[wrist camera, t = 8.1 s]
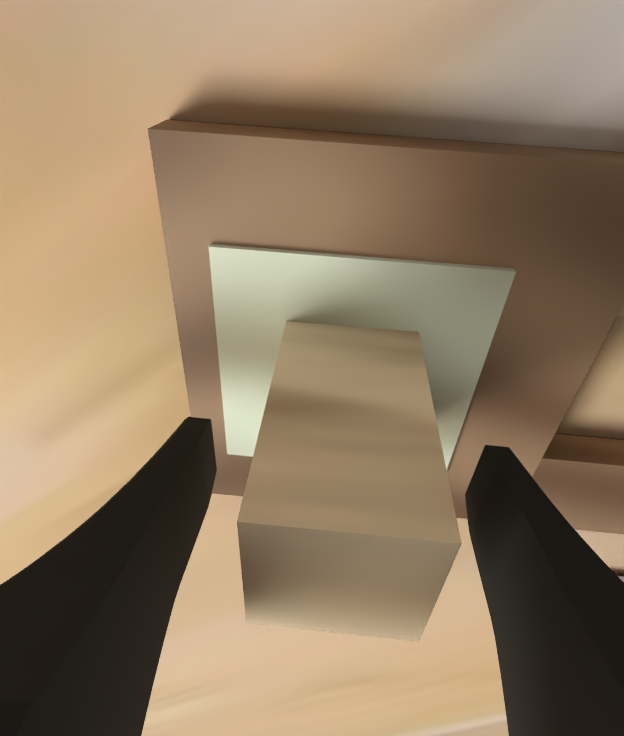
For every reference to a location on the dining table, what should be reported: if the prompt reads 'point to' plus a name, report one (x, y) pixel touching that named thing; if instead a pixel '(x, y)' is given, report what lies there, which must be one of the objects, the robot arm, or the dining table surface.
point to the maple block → (347, 488)
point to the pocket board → (402, 283)
